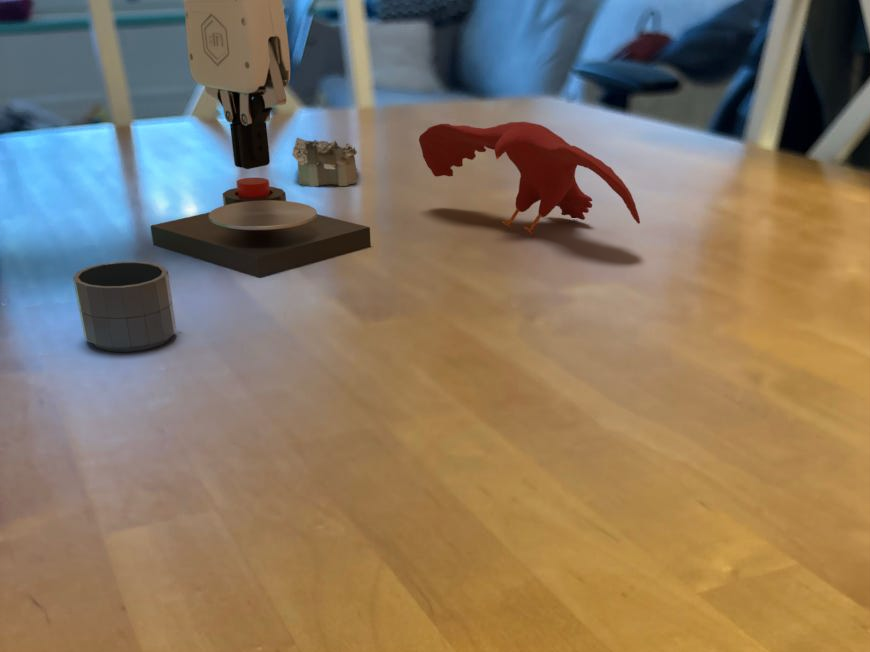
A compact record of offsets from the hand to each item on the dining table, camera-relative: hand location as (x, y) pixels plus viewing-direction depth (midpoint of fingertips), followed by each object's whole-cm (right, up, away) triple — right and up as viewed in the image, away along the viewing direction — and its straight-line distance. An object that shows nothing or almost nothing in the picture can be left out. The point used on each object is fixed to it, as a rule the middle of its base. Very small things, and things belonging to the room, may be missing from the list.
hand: (252, 165), depth 110 cm
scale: (+1, -9, -2) cm, 9 cm away
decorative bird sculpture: (+29, -5, +4) cm, 29 cm away
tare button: (0, -2, +2) cm, 3 cm away
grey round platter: (+2, -8, -6) cm, 10 cm away
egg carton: (+4, +8, +23) cm, 25 cm away
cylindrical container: (-4, -24, -24) cm, 34 cm away
